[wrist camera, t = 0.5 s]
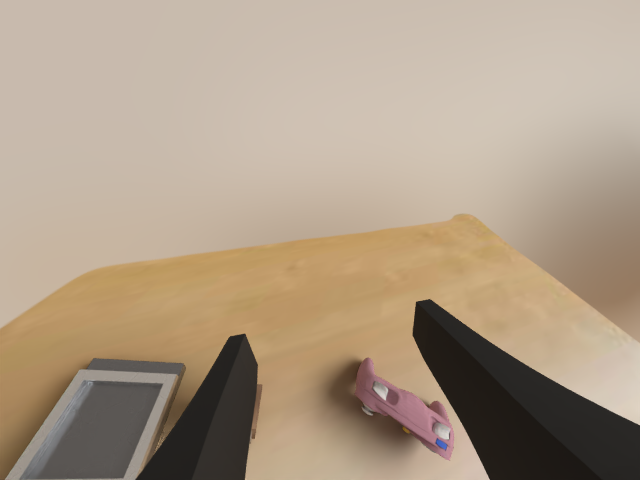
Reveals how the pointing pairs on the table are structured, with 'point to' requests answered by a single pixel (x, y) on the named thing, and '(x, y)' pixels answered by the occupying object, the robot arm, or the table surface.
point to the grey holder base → (103, 423)
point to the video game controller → (405, 410)
